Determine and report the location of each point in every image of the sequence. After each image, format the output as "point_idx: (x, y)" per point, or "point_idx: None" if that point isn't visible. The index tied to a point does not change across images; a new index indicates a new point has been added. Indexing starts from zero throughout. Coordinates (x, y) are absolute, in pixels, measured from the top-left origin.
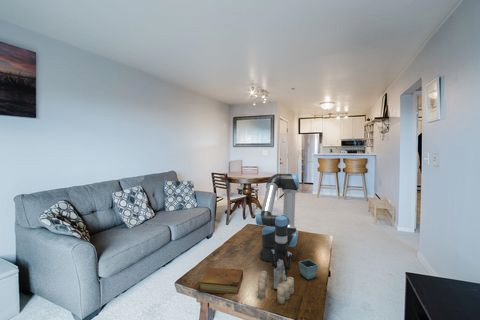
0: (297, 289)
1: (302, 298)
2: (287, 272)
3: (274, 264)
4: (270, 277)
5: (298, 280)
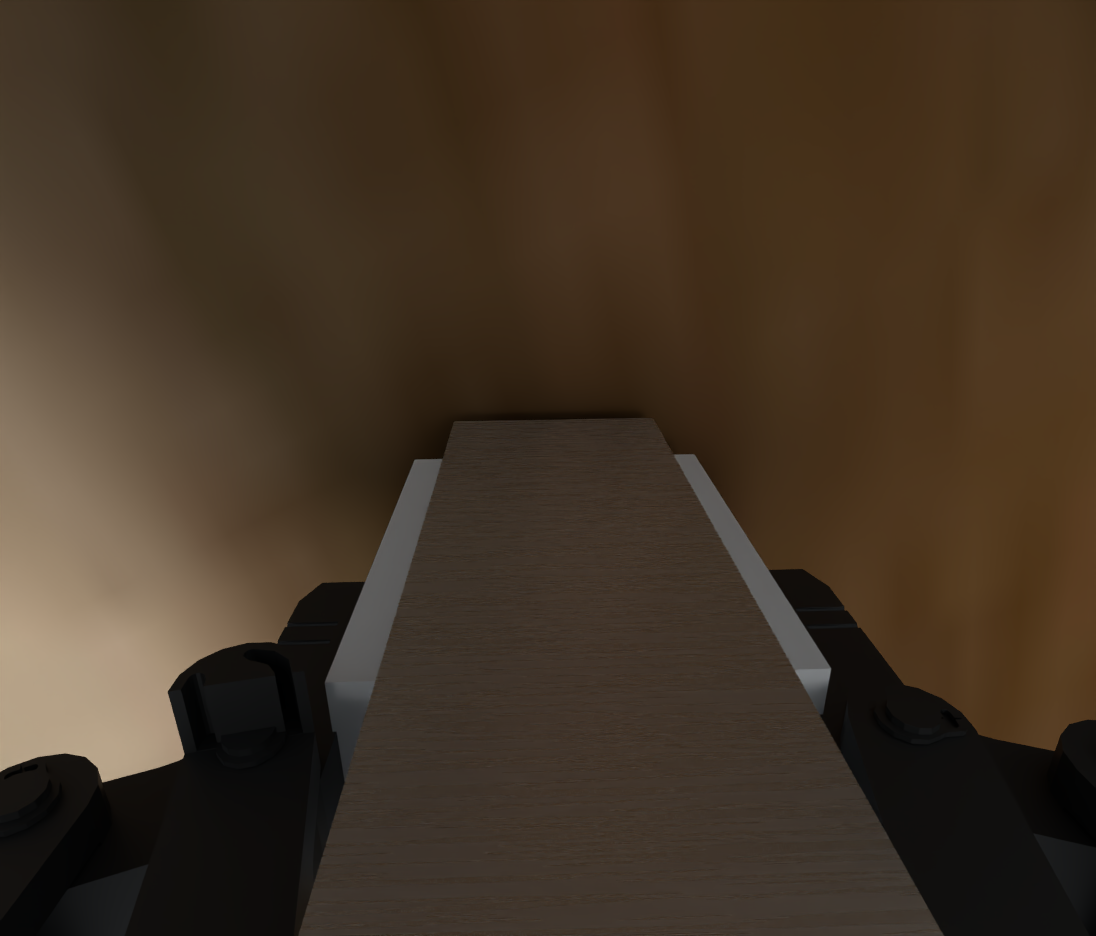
0: (996, 664)
1: None
2: (850, 621)
3: (118, 916)
4: (209, 441)
5: (1049, 231)
